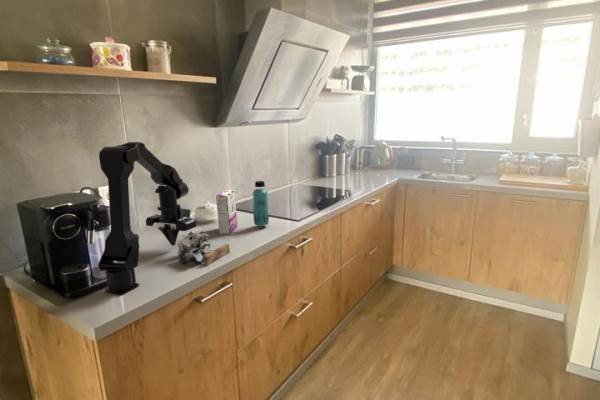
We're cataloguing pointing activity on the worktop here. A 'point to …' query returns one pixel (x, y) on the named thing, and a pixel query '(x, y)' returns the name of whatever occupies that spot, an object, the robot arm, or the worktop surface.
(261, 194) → the beverage bottle
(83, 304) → the worktop surface
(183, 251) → the foil
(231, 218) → the candy bar box
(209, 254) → the bar
